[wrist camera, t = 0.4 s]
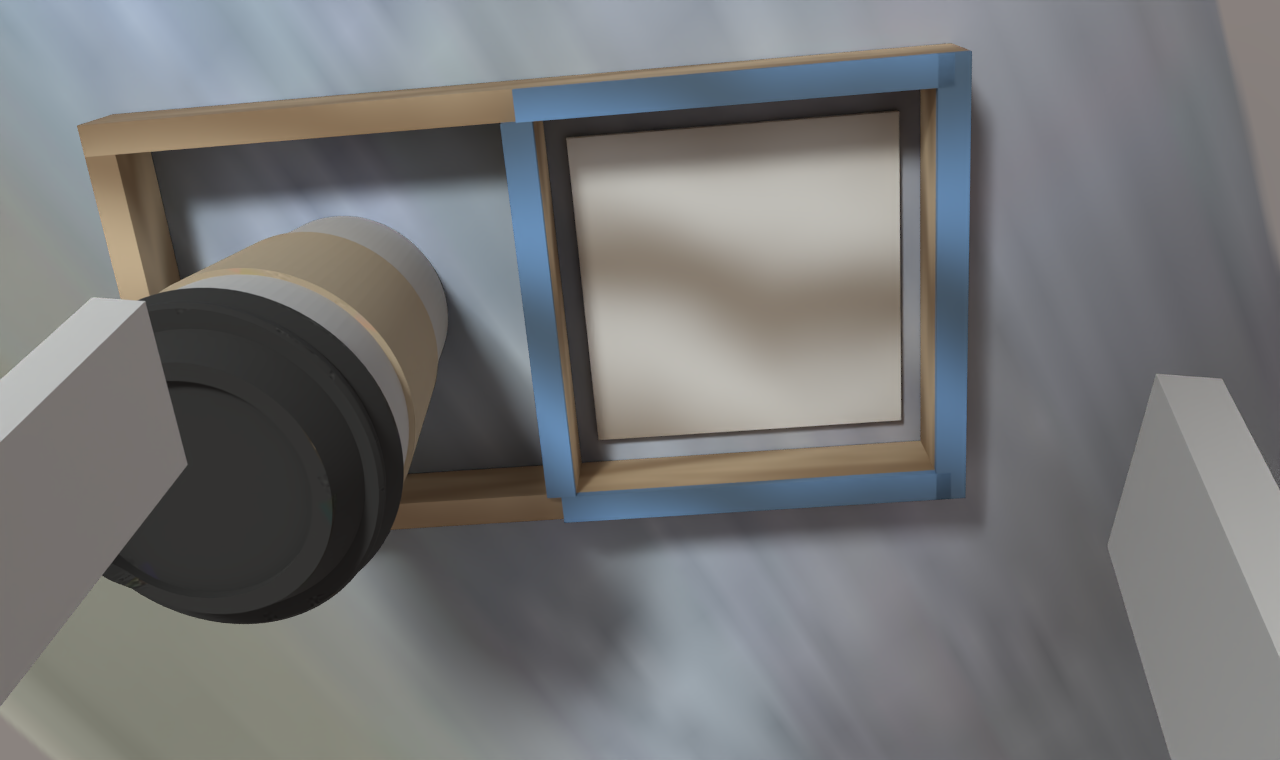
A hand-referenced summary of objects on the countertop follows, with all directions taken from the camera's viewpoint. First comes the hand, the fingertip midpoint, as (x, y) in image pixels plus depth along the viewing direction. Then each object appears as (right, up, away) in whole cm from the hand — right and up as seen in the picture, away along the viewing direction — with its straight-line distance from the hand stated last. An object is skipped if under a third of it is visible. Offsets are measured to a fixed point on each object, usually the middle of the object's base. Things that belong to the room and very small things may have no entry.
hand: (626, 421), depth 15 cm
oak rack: (-3, +4, +26) cm, 26 cm away
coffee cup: (-10, +3, +26) cm, 28 cm away
